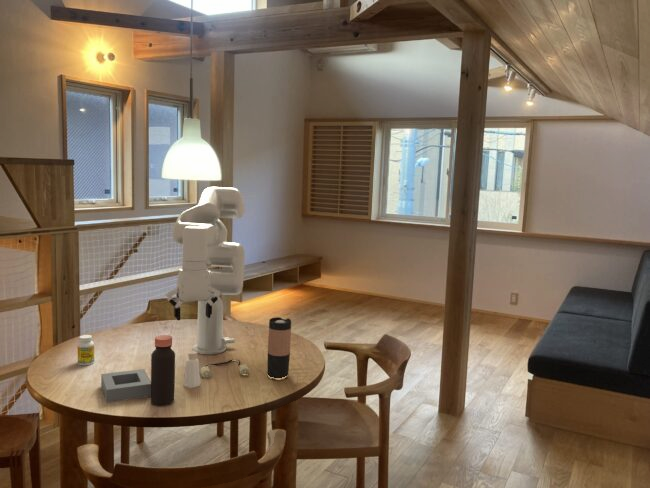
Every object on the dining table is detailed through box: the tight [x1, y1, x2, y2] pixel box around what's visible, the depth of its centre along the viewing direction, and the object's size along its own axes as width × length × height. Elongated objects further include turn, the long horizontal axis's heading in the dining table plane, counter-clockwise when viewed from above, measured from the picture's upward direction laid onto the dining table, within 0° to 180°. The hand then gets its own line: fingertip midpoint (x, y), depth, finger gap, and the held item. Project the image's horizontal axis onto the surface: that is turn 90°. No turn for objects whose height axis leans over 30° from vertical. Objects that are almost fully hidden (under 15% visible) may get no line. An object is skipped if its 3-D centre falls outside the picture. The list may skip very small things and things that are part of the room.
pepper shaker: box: [183, 350, 201, 389], centre depth 178 cm, size 5×5×11 cm
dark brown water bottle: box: [150, 334, 176, 407], centre depth 164 cm, size 7×7×20 cm
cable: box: [199, 359, 250, 379], centre depth 193 cm, size 16×16×4 cm
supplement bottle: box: [77, 334, 95, 366], centre depth 191 cm, size 5×5×10 cm
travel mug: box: [266, 316, 292, 378], centre depth 189 cm, size 8×8×20 cm
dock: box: [100, 368, 151, 404], centre depth 171 cm, size 13×13×4 cm
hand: (193, 318), depth 176 cm, fingers open, 9 cm apart
